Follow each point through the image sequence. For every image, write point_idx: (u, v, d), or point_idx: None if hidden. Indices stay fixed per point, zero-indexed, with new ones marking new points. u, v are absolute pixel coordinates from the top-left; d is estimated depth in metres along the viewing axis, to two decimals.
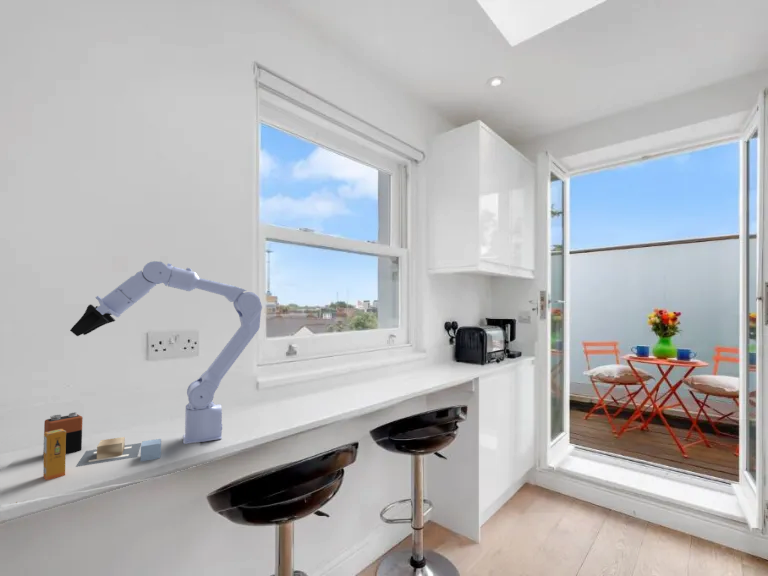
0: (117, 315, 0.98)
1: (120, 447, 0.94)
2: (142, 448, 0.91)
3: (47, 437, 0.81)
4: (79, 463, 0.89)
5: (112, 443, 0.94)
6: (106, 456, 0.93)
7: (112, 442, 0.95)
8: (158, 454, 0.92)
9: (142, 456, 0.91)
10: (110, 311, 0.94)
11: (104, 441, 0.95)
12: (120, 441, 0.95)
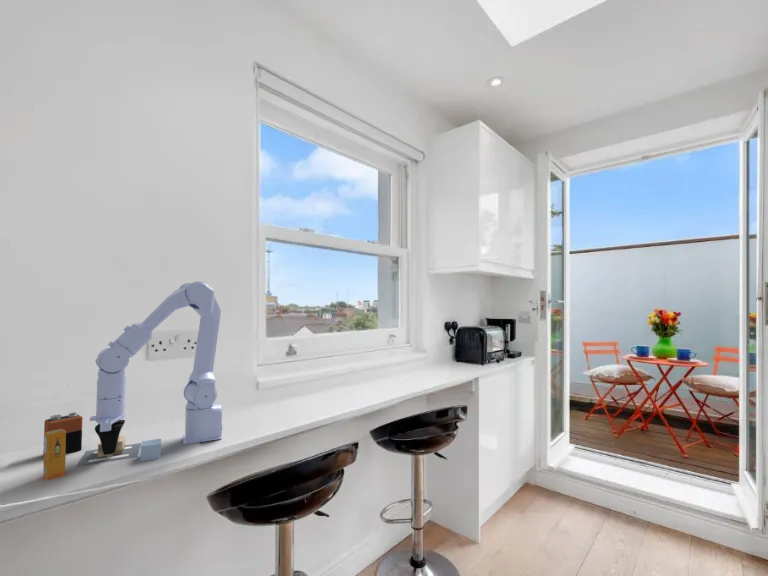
0: (123, 416, 0.93)
1: (121, 445, 0.95)
2: (142, 448, 0.91)
3: (47, 437, 0.81)
4: (79, 463, 0.89)
5: None
6: (107, 454, 0.94)
7: None
8: (158, 454, 0.92)
9: (142, 456, 0.91)
10: (113, 421, 0.89)
11: None
12: (121, 439, 0.96)
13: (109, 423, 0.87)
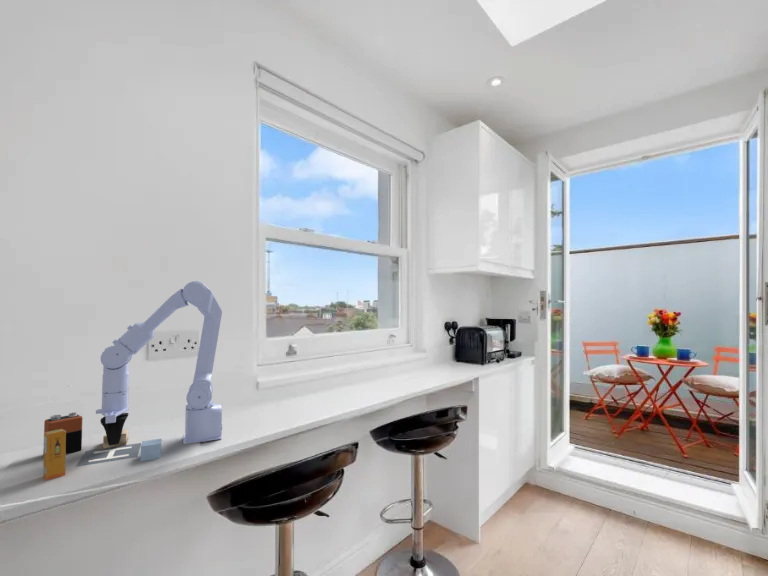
0: (126, 409, 1.00)
1: (125, 437, 1.01)
2: (142, 448, 0.91)
3: (47, 437, 0.81)
4: (79, 463, 0.89)
5: None
6: (112, 445, 1.00)
7: None
8: (158, 454, 0.92)
9: (142, 456, 0.91)
10: (118, 414, 0.96)
11: None
12: (124, 432, 1.03)
13: (114, 415, 0.94)
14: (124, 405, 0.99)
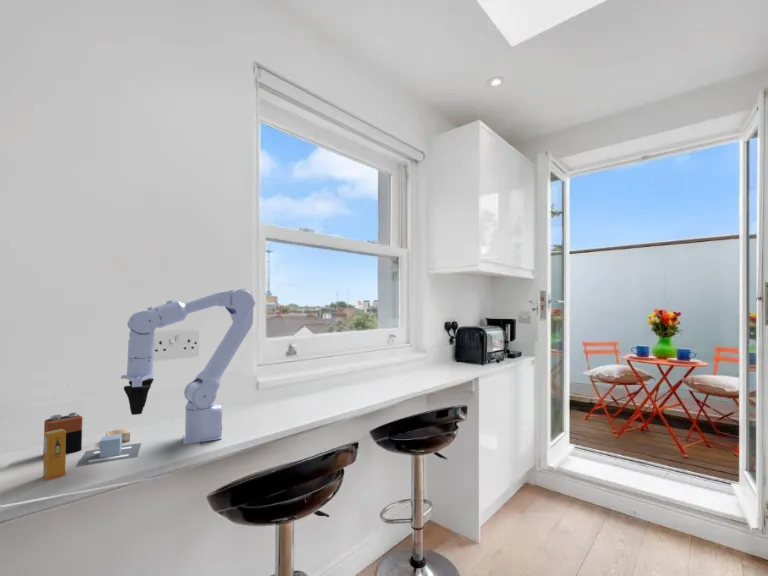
0: (151, 375, 0.99)
1: (128, 436, 1.04)
2: (101, 443, 0.93)
3: (47, 437, 0.81)
4: (79, 463, 0.89)
5: (121, 433, 1.03)
6: None
7: (119, 432, 1.04)
8: (118, 449, 0.94)
9: (101, 451, 0.93)
10: (144, 378, 0.95)
11: (110, 432, 1.04)
12: (127, 431, 1.05)
13: (140, 379, 0.93)
14: (149, 371, 0.98)
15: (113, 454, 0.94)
